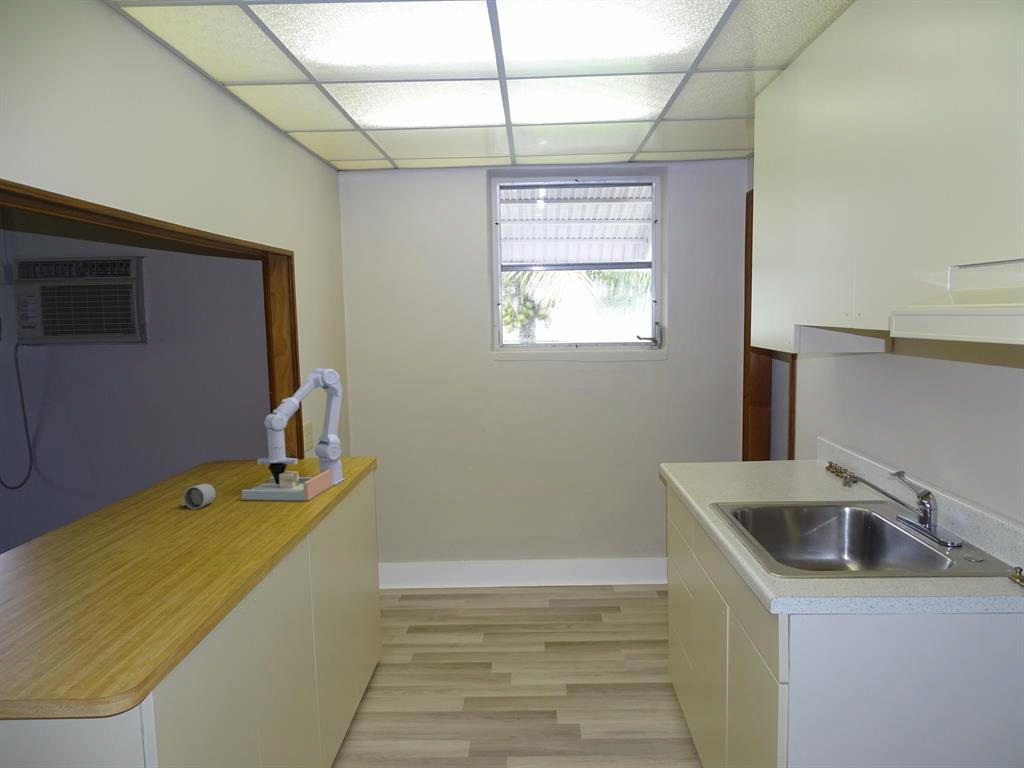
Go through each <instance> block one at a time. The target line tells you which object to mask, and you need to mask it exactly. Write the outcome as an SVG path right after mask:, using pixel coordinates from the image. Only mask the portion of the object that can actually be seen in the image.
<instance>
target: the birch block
mask: <svg viewBox="0 0 1024 768" xmlns="http://www.w3.org/2000/svg"><path fill="white" fill-rule="evenodd" d="M299 473H300V472H299V471H287V470H285V471H284V472H283V473H281V474H279V484H280V488H295V487H296V486H298V485H299V477H300V475H299Z"/></svg>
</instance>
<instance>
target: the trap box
mask: <svg viewBox="0 0 1024 768" xmlns="http://www.w3.org/2000/svg"><path fill="white" fill-rule="evenodd" d="M331 486H334V485H333V482H332V470H326V471H325V472H323V473H321V474H320V473H319V474H317V475H316V476H312V477H310V476H302V477H301V476H299V485H298V486H296V487H295V488H280V484H276V482H275V479H274V476H271V477H268V483H267V482H265V483H264V482H263V483H261V484H259V485H257V486H254V487H252V488H251V489H242V490H241V501H242V500H259V501H258V502H301V501H308V502H310V501H312V500H313V499H315V498H316V496H317V495H318V496H320V495H321V493H322V492H323V493H325V492H326V491H328V490H329V489H328V488H330V487H331ZM331 488H332V487H331ZM331 488H330V489H331ZM327 489H328V490H327ZM325 490H326V491H325ZM324 491H325V492H324ZM323 493H322V494H323ZM319 494H320V495H319ZM318 496H317V497H318ZM314 497H315V498H314ZM312 498H313V499H312ZM311 499H312V500H311ZM260 500H262V501H260ZM309 500H310V501H309Z"/></svg>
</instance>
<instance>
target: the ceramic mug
mask: <svg viewBox="0 0 1024 768" xmlns="http://www.w3.org/2000/svg"><path fill="white" fill-rule="evenodd" d="M216 496H217V495H216V489H215V488H214V486H213V485H211V484H209V483H202V484H196V485H193V486H190V487H188V488H187V489H186V490H185V491H184V492H183V500H182V501H180V504H181V506H182V507H185V506H186V507H188V508H190V509H192V510H197V509H201V508H203V507H205V506H207V505H209V504H211V503H212V502H213V501H214V500H215V498H216Z"/></svg>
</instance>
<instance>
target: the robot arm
mask: <svg viewBox="0 0 1024 768" xmlns="http://www.w3.org/2000/svg"><path fill="white" fill-rule="evenodd" d="M340 378H341V376H340V374H339V373H338V372H337V371H336V370H335V369H333V368H321V367H318V368H314V369H313V371H312V372H311V373H310V374H309V375H308V376H307V378H306V380H304V382H303V383H302V384H301V386H300V387H299V388H298V389H297V390H296V391H295V393H294V394H293V396H291V397H286V398H284V399H282V400H281V403H280V405H278V406H277V408H276V409H273V411H272V413H270V414H267V416H266V417H265V420H264V421H263V424H264V427H265V428H266V429H267V443H268V444H267V446H268V447H267V448H268V457H260V458H258V459H256V460H257V465H269V466H268V470H269V471H270V473H271V474H272V477H274V479H275V482H276V484H279V474H281V473H283V472H285V471H286V469H287V466H288V465H293V466H295V465H297V464H298V463H299V461H298V458H297V457H296V458H294V457H293V458H292V457H286V455H287V454H286V441H285V437H286V436H285V428H286V427H287V425H288V421H289V419H291V417H292V416H294V414H295V413H296V412H297V411H298V410H299V409H300V403H301V402H303V400H304V399H305V398H306V397H307V396H308V395H309V394H310V393H311V392H312V391H313V390H314V389H318V388H322V390H324V392H325V393H326V394H327V395H326V403H325V411H324V419H323V426H322V427H323V428H322V434H321V436H320V437H319V438H318V442H317V444H316V445H315V447H314V448H315V449H314V451H315V452H314V453H315V455H316V456H317V457H318V466H319V467H318V470H319V471H318V472H319V474H321V473H323V472H325V471H326V470H332V482H333V486H336V485H338V484H340V483H341V482H343V481H344V479H346V478H343V464H342V461H341V460H340V459H339V458H340V457H341V455H342V449H341V441H340V438H339V436H338V429H339V423H340V422H339V421H340V413H341V407H342V399H343V398H342V396H343V387H342V385H341V381H340ZM342 480H343V481H342ZM339 482H340V483H339Z"/></svg>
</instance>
